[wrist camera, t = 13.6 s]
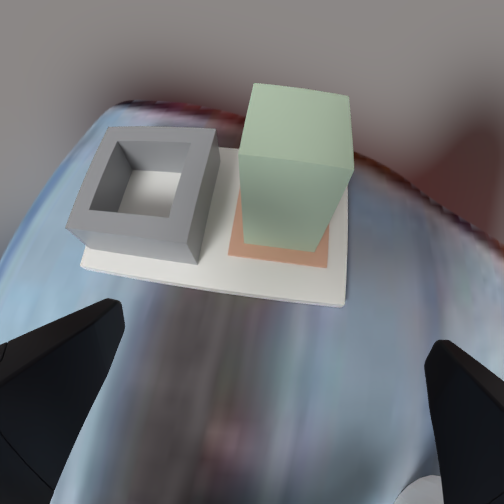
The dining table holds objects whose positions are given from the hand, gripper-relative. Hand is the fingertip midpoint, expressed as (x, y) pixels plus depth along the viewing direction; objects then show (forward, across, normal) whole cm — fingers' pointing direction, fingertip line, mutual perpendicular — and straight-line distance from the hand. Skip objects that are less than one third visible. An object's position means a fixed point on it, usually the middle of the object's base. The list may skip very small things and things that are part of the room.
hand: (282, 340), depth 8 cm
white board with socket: (+17, +5, +2) cm, 18 cm away
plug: (+16, 0, +2) cm, 16 cm away
